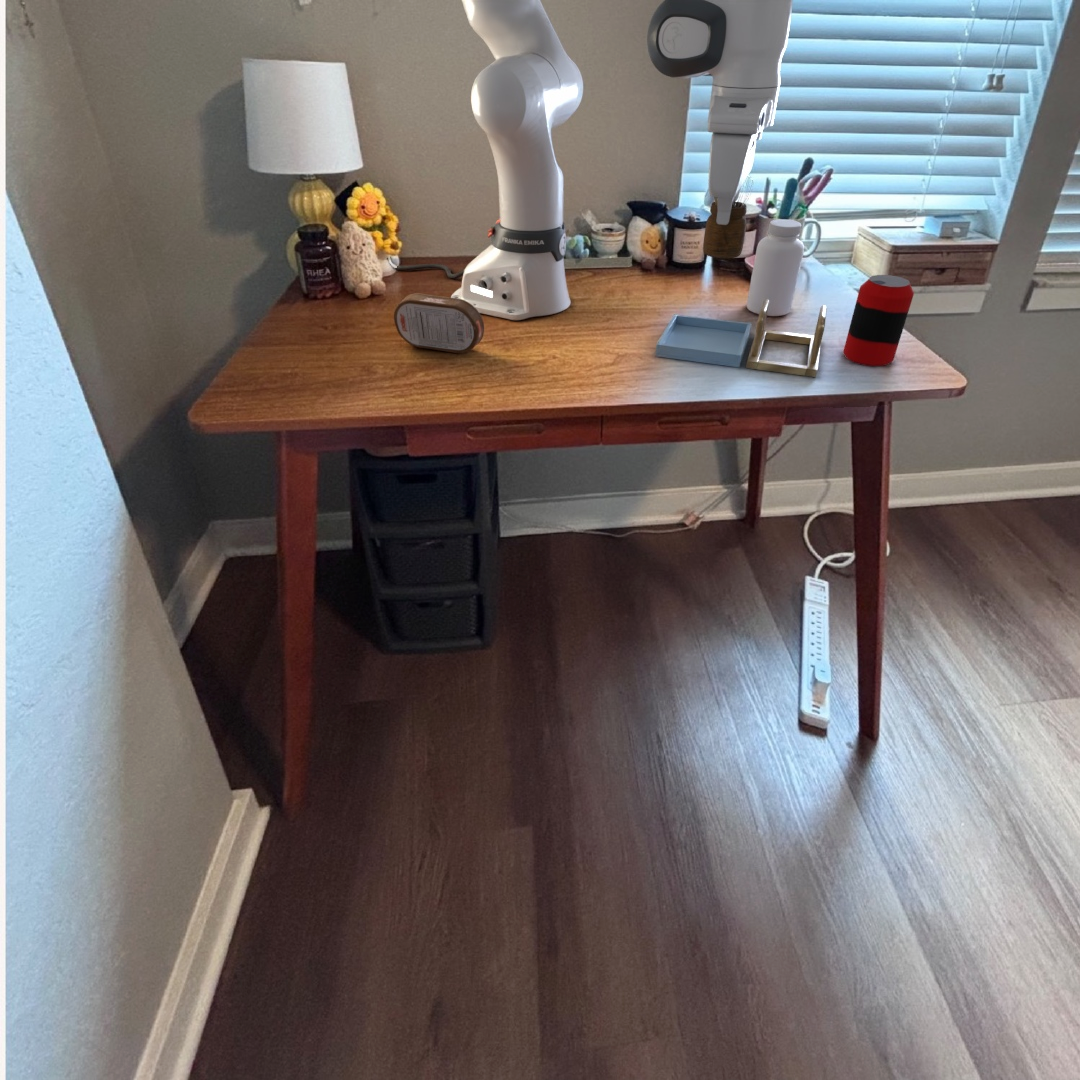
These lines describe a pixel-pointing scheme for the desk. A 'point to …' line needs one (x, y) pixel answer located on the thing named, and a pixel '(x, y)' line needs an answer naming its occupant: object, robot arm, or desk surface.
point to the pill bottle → (776, 268)
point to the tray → (704, 340)
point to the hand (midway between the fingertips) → (726, 218)
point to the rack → (763, 334)
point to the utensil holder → (726, 231)
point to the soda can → (878, 320)
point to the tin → (439, 323)
